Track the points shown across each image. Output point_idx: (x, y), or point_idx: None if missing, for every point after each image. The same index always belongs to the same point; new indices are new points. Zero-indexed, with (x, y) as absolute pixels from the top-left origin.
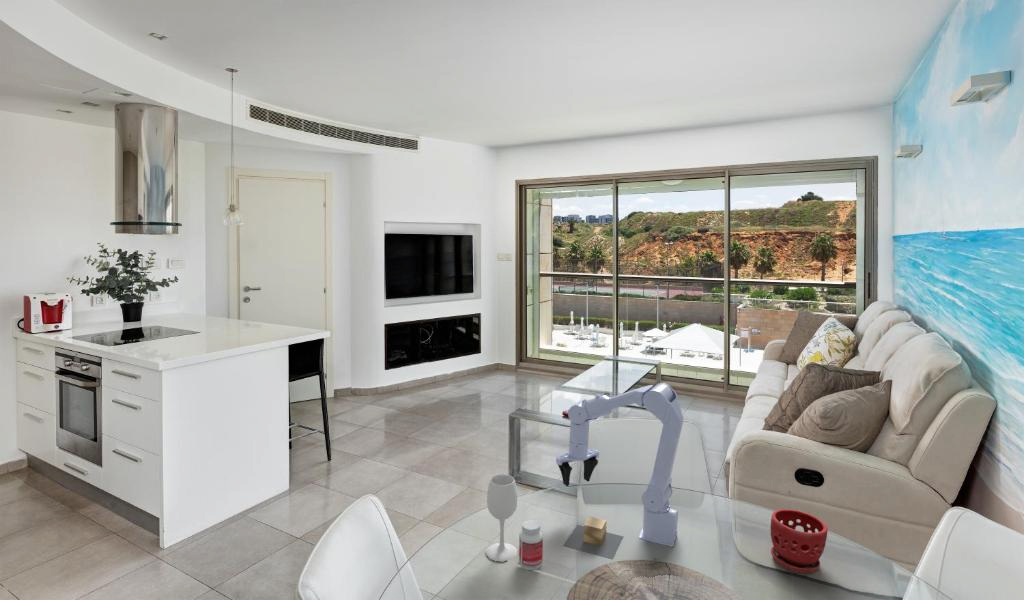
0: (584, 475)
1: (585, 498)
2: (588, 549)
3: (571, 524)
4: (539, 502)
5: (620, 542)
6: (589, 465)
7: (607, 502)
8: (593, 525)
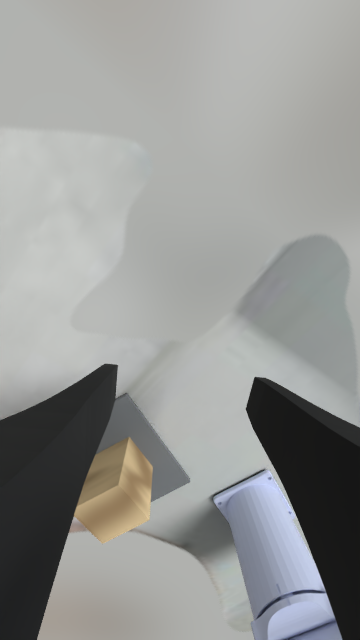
0: (266, 393)
1: (260, 287)
2: None
3: (118, 379)
4: (107, 211)
5: (165, 493)
6: (329, 546)
7: (292, 344)
8: (93, 523)
